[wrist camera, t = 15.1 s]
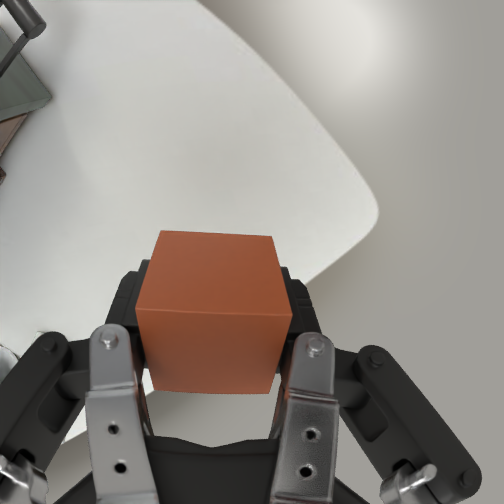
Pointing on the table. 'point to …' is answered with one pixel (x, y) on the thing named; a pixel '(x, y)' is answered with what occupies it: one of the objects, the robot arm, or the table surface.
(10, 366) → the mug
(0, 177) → the cabinet
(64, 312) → the table surface
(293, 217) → the table surface
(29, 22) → the drawer
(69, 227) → the table surface
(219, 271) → the block
